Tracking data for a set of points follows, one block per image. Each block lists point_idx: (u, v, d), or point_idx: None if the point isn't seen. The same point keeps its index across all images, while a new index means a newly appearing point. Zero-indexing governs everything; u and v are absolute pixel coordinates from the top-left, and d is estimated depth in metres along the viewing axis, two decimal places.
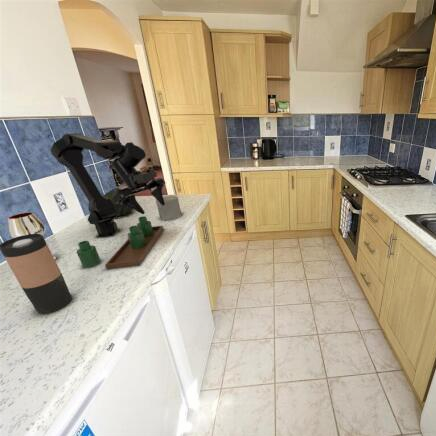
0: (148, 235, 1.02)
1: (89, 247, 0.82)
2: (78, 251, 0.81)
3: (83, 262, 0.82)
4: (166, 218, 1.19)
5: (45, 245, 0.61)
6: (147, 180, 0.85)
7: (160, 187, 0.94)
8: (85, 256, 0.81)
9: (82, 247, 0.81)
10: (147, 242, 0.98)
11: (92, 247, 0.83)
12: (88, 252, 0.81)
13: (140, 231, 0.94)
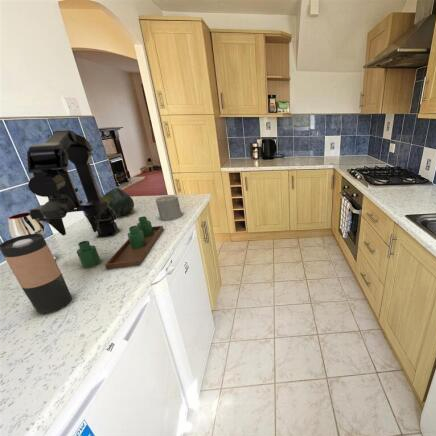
0: (148, 235, 1.02)
1: (89, 247, 0.82)
2: (78, 251, 0.81)
3: (83, 262, 0.82)
4: (166, 218, 1.19)
5: (45, 245, 0.61)
6: (48, 218, 0.70)
7: (89, 216, 0.76)
8: (85, 256, 0.81)
9: (82, 247, 0.81)
10: (147, 242, 0.98)
11: (92, 247, 0.83)
12: (88, 252, 0.81)
13: (140, 231, 0.94)
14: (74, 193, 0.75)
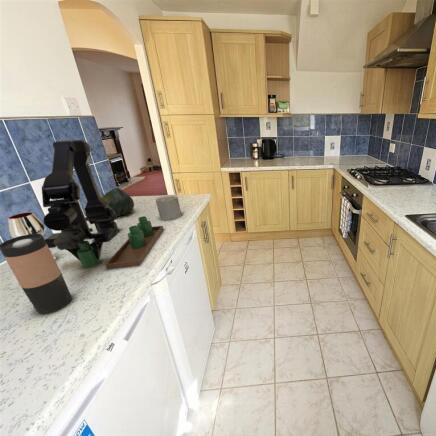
0: (148, 235, 1.02)
1: (89, 247, 0.82)
2: (78, 251, 0.81)
3: (83, 262, 0.82)
4: (166, 218, 1.19)
5: (45, 245, 0.61)
6: (61, 248, 0.73)
7: (93, 245, 0.80)
8: (85, 256, 0.81)
9: (82, 247, 0.81)
10: (147, 242, 0.98)
11: None
12: (88, 252, 0.81)
13: (140, 231, 0.94)
14: (85, 223, 0.79)
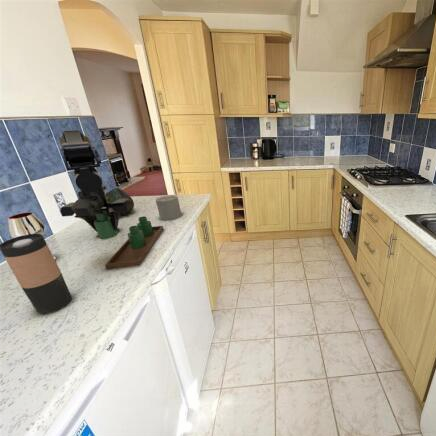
0: (148, 235, 1.02)
1: (106, 217, 0.79)
2: (95, 221, 0.78)
3: (100, 233, 0.79)
4: (166, 218, 1.19)
5: (45, 245, 0.61)
6: (79, 215, 0.71)
7: (110, 215, 0.77)
8: (103, 226, 0.78)
9: (99, 217, 0.78)
10: (147, 242, 0.98)
11: (109, 218, 0.80)
12: (105, 222, 0.78)
13: (140, 231, 0.94)
14: (102, 191, 0.76)
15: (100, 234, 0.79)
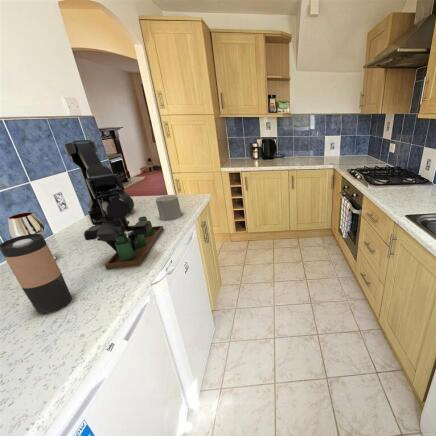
0: (148, 235, 1.02)
1: (126, 239, 0.84)
2: (116, 243, 0.82)
3: (121, 254, 0.83)
4: (166, 218, 1.19)
5: (45, 245, 0.61)
6: (103, 240, 0.75)
7: (131, 237, 0.81)
8: (123, 247, 0.82)
9: (120, 239, 0.82)
10: (147, 242, 0.98)
11: (129, 239, 0.85)
12: (126, 244, 0.83)
13: None
14: None
15: (121, 255, 0.83)
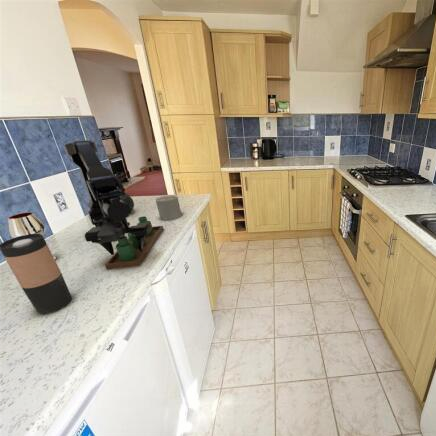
0: (148, 235, 1.02)
1: (127, 242, 0.84)
2: (117, 246, 0.83)
3: (122, 257, 0.84)
4: (166, 218, 1.19)
5: (45, 245, 0.61)
6: (104, 241, 0.75)
7: (138, 238, 0.82)
8: (124, 250, 0.83)
9: (121, 242, 0.83)
10: (147, 242, 0.98)
11: (130, 242, 0.85)
12: (127, 247, 0.83)
13: None
14: None
15: (122, 258, 0.84)
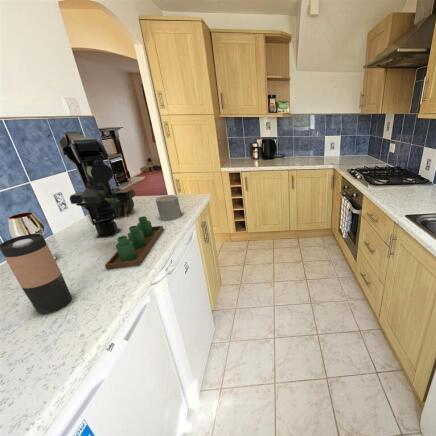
0: (148, 235, 1.02)
1: (127, 242, 0.84)
2: (117, 246, 0.83)
3: (122, 257, 0.84)
4: (166, 218, 1.19)
5: (45, 245, 0.61)
6: (87, 202, 0.80)
7: (120, 203, 0.87)
8: (124, 250, 0.83)
9: (121, 242, 0.83)
10: (147, 242, 0.98)
11: (130, 242, 0.85)
12: (127, 247, 0.83)
13: (140, 231, 0.94)
14: (108, 182, 0.86)
15: (122, 258, 0.84)
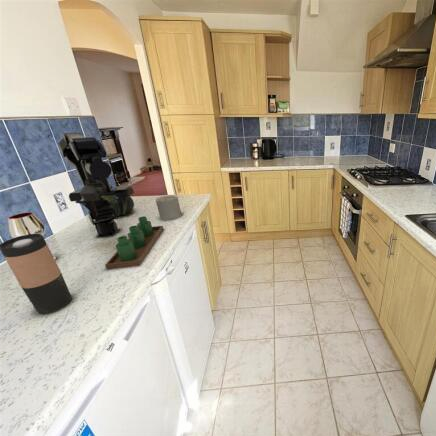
0: (148, 235, 1.02)
1: (127, 242, 0.84)
2: (117, 246, 0.83)
3: (122, 257, 0.84)
4: (166, 218, 1.19)
5: (45, 245, 0.61)
6: (86, 199, 0.81)
7: (119, 200, 0.88)
8: (124, 250, 0.83)
9: (121, 242, 0.83)
10: (147, 242, 0.98)
11: (130, 242, 0.85)
12: (127, 247, 0.83)
13: (140, 231, 0.94)
14: (106, 179, 0.87)
15: (122, 258, 0.84)
